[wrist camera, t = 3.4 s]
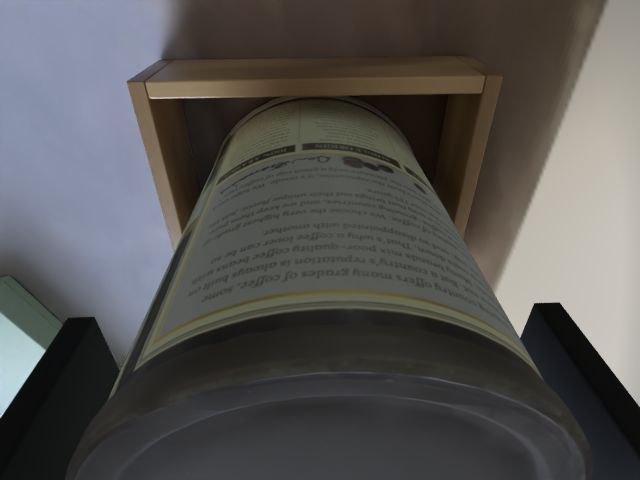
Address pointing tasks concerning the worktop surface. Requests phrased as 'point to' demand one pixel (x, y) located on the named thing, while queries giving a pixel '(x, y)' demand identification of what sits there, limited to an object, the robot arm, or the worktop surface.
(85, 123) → the worktop surface
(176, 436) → the coffee can
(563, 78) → the worktop surface
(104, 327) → the worktop surface
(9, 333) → the tray
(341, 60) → the can stand
